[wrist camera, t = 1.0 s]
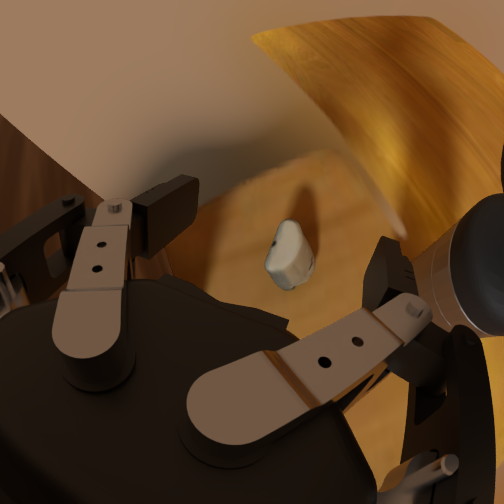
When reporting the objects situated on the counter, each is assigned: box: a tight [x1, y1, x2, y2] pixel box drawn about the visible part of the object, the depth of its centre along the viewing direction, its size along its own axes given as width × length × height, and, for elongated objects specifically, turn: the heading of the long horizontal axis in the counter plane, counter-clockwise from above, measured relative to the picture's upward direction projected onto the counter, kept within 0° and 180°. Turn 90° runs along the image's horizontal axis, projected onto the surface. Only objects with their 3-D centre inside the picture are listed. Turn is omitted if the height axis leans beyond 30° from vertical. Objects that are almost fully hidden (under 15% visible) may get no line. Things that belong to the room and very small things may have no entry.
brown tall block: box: [0, 114, 174, 300], centre depth 21 cm, size 12×13×34 cm
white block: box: [265, 219, 315, 290], centre depth 31 cm, size 6×5×8 cm
